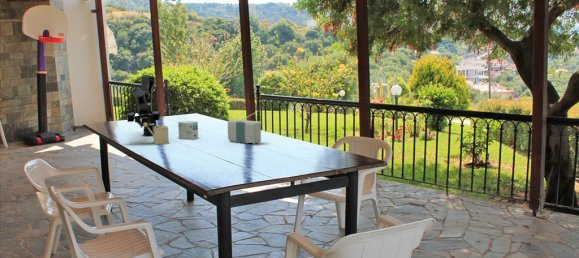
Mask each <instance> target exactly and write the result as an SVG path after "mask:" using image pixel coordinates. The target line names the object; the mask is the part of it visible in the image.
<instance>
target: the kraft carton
mask: <svg viewBox="0 0 579 258" xmlns="http://www.w3.org/2000/svg"><path fill="white" fill-rule="evenodd" d="M153 134H154V136H153V135H152V136H153V143H154V145H166V144H169V143H170V142H169V127H168V126H167V125H157V126H153Z"/></svg>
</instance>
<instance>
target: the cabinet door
mask: <svg viewBox="0 0 579 258" xmlns="http://www.w3.org/2000/svg"><path fill="white" fill-rule="evenodd" d="M143 125H144V126H143V128H144V127H147V128H148V124H147V123H146V122H144V123H143ZM148 129H149V128H148ZM149 130H150V129H149ZM150 132H151V133H152V131H151V130H150ZM152 134H153V133H152ZM152 136H154V134H153V135H152Z"/></svg>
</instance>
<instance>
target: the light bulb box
mask: <svg viewBox="0 0 579 258" xmlns="http://www.w3.org/2000/svg"><path fill="white" fill-rule="evenodd" d="M177 123H178V125H177V126H178V127H177V128H178V139H179V140H195V139H199V123H198V121H190V120H189V121H188V120H182V121H178V122H177Z"/></svg>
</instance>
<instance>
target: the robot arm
mask: <svg viewBox="0 0 579 258" xmlns="http://www.w3.org/2000/svg"><path fill="white" fill-rule="evenodd" d="M156 79H157V78H156V77H155V76H154V75H149V74H143V75H141V85H140V88H138V89H137V90H135V91H134V93H133V94H134V98H135V102H136V107H137V113H135V112H127V118H126V120H127V122H128V123H133V122H134V123H137V125H139V127H140V128H141V129H142V128H143V134H142V136H145V137H146V136H147V137H152V136H153V134H152V133H153V126H158V124H157V123H158V122H157V121H159V120H160V116H161V114H160V111H153V90H154V88H155V85H156V81H157V80H156ZM144 122H146V123H147V124H148V128H149V129H150V130H151V131H152V133H151V132H150V130H149V129H148V128H147V127H144V125H143V123H144Z"/></svg>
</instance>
